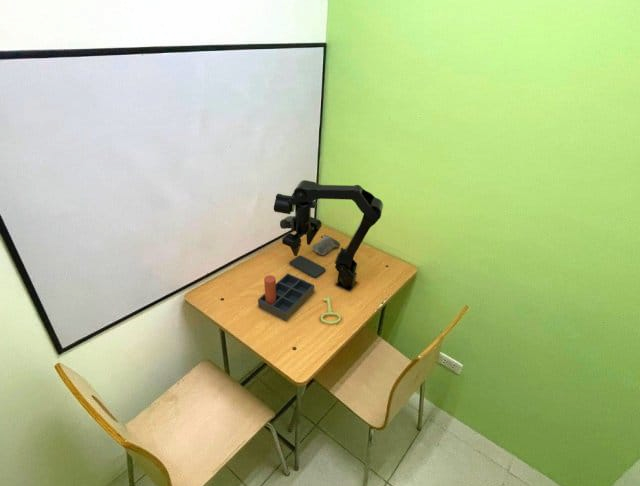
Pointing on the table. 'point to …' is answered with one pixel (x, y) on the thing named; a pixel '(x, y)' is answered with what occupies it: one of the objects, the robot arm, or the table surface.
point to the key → (329, 313)
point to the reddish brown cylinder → (270, 289)
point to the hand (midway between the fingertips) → (302, 250)
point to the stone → (325, 245)
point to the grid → (287, 296)
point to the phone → (307, 266)
